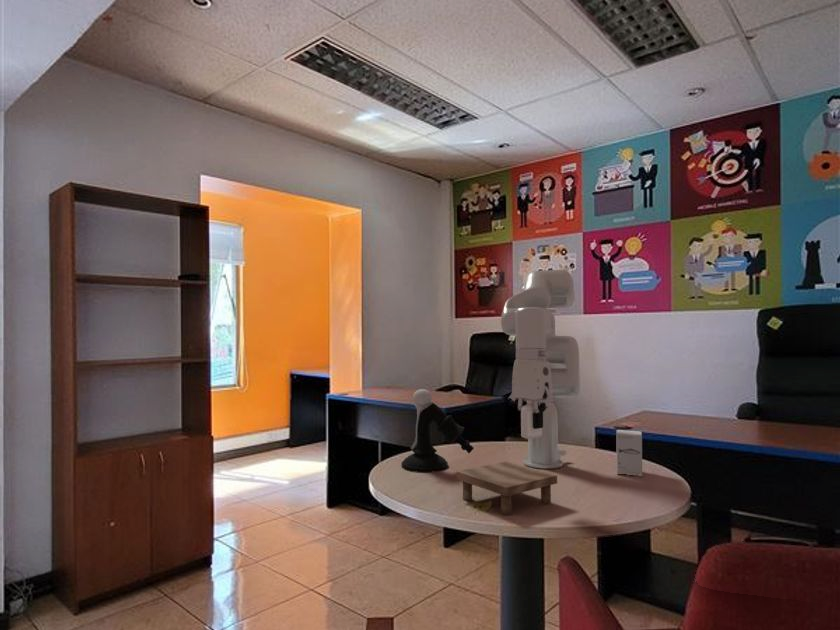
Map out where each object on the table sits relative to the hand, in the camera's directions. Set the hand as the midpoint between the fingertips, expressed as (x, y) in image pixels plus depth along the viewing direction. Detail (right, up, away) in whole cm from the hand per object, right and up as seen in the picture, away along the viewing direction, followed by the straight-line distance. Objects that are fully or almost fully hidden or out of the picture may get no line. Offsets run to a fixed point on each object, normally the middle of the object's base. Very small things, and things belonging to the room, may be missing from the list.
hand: (531, 426), depth 132 cm
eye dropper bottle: (0, -3, 0) cm, 3 cm away
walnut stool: (-7, -19, 0) cm, 20 cm away
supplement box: (+36, -20, +27) cm, 49 cm away
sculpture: (-23, -21, +35) cm, 47 cm away
